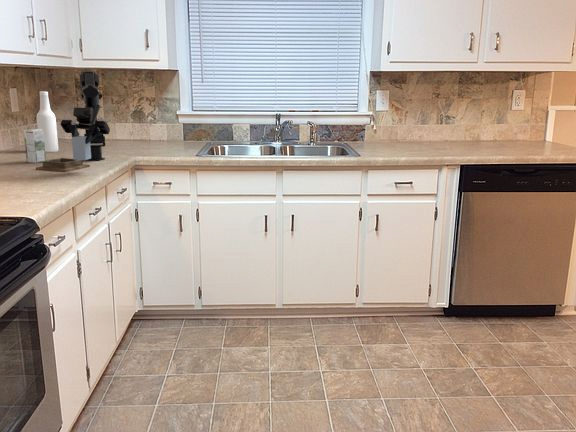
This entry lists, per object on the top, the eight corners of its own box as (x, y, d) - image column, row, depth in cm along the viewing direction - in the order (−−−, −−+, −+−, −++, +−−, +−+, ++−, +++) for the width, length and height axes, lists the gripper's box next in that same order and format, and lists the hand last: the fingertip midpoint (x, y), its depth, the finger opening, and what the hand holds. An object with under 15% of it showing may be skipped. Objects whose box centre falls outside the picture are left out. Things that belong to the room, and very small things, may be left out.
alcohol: (46, 153, 258) (40, 91, 250) (36, 151, 262) (30, 91, 255) (62, 151, 265) (56, 91, 257) (52, 149, 269) (46, 91, 262)
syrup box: (36, 160, 234) (33, 128, 231) (46, 161, 232) (43, 129, 229) (26, 162, 229) (23, 129, 226) (36, 163, 227) (33, 130, 223)
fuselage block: (79, 157, 211) (77, 135, 208) (91, 158, 210) (89, 136, 208) (73, 159, 206) (71, 137, 204) (85, 160, 205) (83, 137, 203)
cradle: (61, 164, 226) (60, 156, 225) (90, 166, 222) (89, 159, 221) (35, 169, 212) (34, 161, 211) (65, 171, 208) (64, 164, 207)
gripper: (60, 99, 207) (48, 129, 199) (104, 100, 205) (94, 130, 197) (71, 117, 216) (60, 147, 208) (114, 119, 215) (104, 148, 207)
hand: (79, 143), depth 205 cm, fingers closed on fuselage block, 5 cm apart
